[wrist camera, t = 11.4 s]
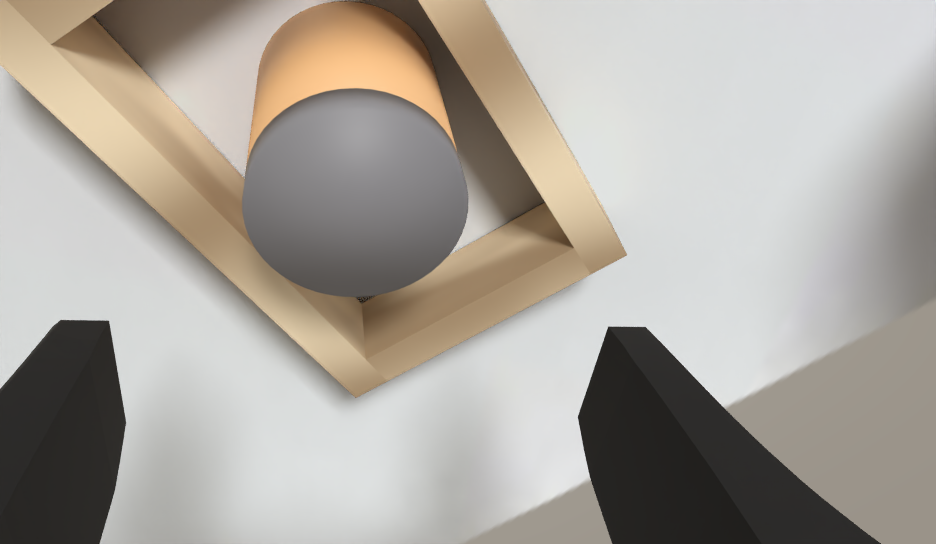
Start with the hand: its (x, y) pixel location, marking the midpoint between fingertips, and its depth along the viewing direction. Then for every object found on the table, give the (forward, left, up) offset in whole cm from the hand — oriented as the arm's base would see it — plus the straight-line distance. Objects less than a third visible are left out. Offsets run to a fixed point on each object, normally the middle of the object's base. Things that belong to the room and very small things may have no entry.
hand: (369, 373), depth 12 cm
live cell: (+1, 0, -9) cm, 9 cm away
